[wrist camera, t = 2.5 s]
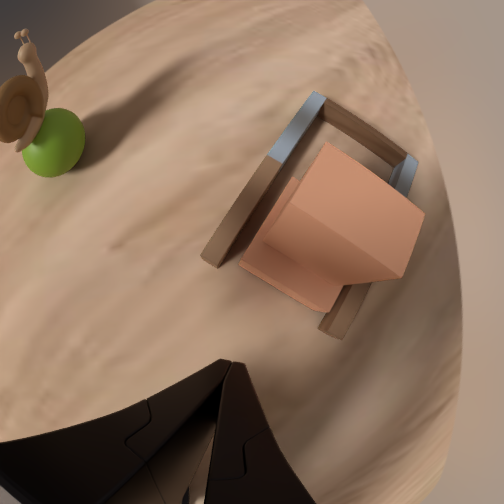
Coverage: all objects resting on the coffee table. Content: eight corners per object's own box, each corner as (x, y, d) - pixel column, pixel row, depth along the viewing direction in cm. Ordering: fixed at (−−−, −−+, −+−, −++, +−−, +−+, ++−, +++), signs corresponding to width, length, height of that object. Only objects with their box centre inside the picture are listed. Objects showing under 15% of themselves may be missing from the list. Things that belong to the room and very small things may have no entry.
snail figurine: (107, 120, 20) (52, 17, 8) (82, 189, 19) (-10, 106, 7) (60, 121, 20) (-3, 38, 8) (35, 185, 19) (-54, 119, 7)
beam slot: (330, 336, 19) (341, 340, 17) (202, 259, 19) (200, 255, 17) (406, 171, 22) (418, 162, 20) (307, 104, 22) (313, 90, 20)
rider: (313, 310, 19) (394, 320, 9) (238, 264, 19) (254, 231, 9) (351, 237, 20) (440, 193, 10) (282, 193, 20) (329, 111, 10)
